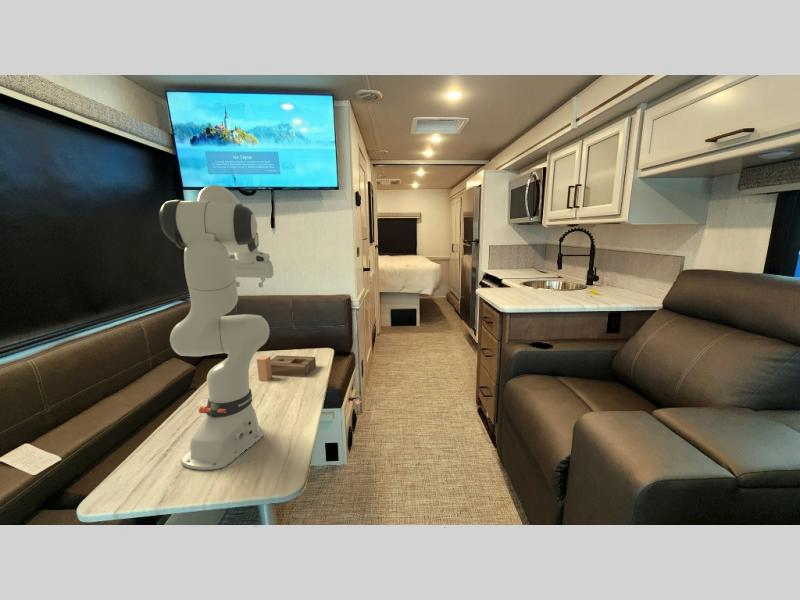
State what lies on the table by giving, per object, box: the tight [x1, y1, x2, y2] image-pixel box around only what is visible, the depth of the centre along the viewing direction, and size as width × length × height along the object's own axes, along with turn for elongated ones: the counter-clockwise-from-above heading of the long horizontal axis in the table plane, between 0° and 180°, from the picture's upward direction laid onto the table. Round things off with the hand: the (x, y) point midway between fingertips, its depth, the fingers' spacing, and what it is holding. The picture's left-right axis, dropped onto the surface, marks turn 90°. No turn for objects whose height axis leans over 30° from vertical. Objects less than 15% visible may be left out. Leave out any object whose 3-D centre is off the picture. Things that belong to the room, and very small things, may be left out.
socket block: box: [270, 354, 317, 378], centre depth 148 cm, size 12×20×5 cm, turn 82°
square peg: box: [256, 355, 273, 382], centre depth 139 cm, size 4×4×10 cm
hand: (249, 286), depth 135 cm, fingers open, 8 cm apart
